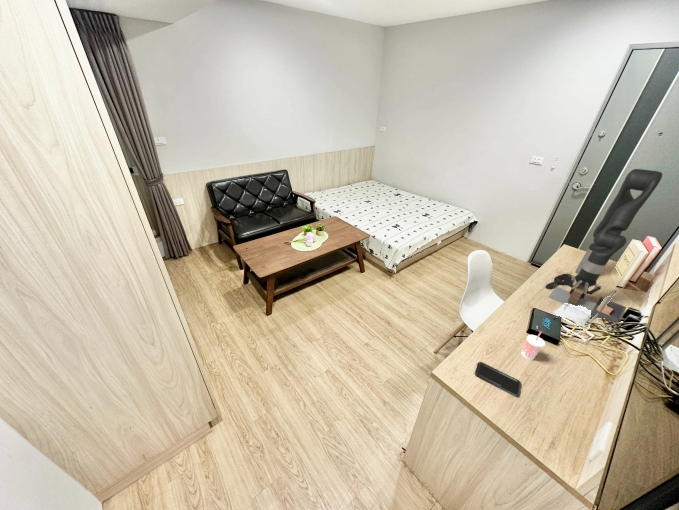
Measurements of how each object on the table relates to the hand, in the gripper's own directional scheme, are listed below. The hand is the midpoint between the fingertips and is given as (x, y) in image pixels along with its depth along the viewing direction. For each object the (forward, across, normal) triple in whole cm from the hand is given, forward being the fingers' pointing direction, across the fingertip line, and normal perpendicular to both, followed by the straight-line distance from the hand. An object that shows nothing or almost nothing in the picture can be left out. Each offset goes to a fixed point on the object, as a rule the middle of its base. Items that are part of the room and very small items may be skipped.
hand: (575, 296), depth 140 cm
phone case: (+4, -5, +25) cm, 26 cm away
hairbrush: (+5, +10, -15) cm, 19 cm away
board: (+4, 0, 0) cm, 4 cm away
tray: (+4, -14, 0) cm, 14 cm away
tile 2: (+3, -12, +4) cm, 13 cm away
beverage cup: (+4, +2, +60) cm, 60 cm away
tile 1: (+3, -12, -3) cm, 13 cm away
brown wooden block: (+1, 0, 0) cm, 1 cm away
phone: (+4, +5, +82) cm, 82 cm away
